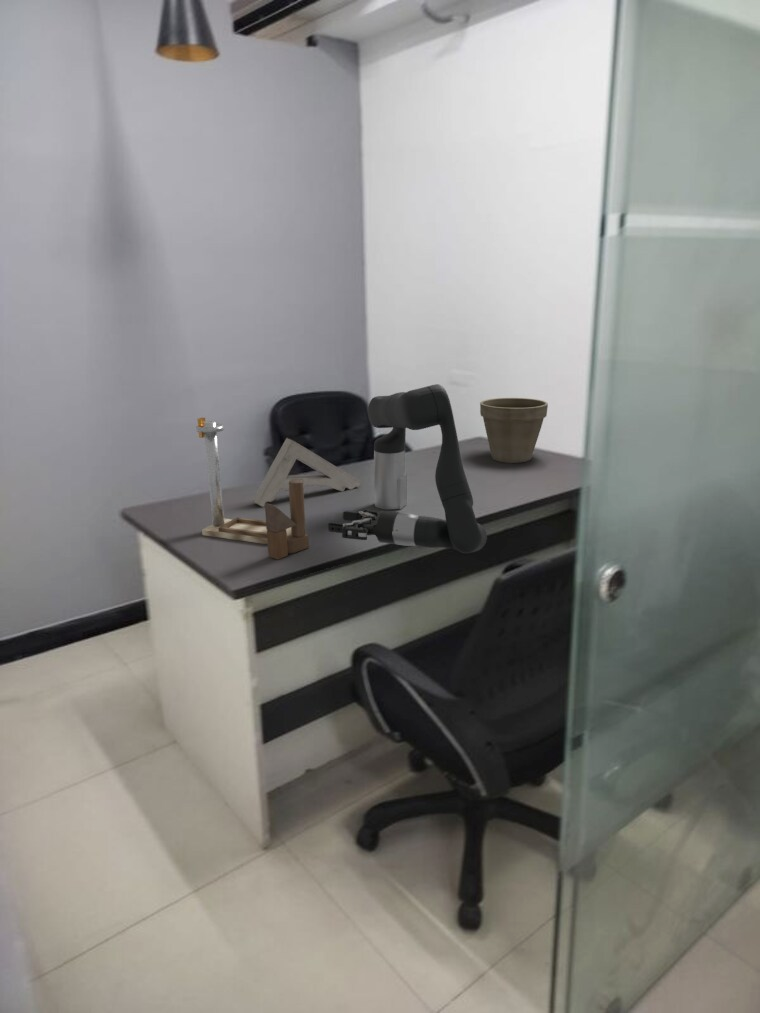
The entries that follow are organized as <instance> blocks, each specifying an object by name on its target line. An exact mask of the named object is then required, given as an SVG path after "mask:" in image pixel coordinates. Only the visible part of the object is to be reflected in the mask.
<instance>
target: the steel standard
mask: <svg viewBox="0 0 760 1013" xmlns="http://www.w3.org/2000/svg"><path fill="white" fill-rule="evenodd" d="M224 430H225V426H224V424H222V423H217V421H213V420H211V421H209V420H208V421H206V417H198V418H197V426H196V432H197V433H198V437H199V438H204V445H205V455H206V466H207V475H208V476H207V477H208V478H207V480H208V488H209V489H208V490H209V499H210V509H211V510H210V511H211V518H212V519H211V520H212V523H211V524H213V526H215V527H220V526H223V525H224V524H225V523H224V519H225V514H224V502H223V501H224V500H223V492H222V488H223V487H222V480H221V479H222V478H221V466H220V456H219V455H220V454H219V453H220V452H219V444H218V443H219V442H218V433H219V432H222V431H224Z"/></svg>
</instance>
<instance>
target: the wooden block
mask: <svg viewBox="0 0 760 1013" xmlns="http://www.w3.org/2000/svg"><path fill="white" fill-rule="evenodd" d="M304 492H305V490H304V487H303V481H302V480H299V479H295V480H290V481H289V490H288V493H289V494H288V496H289V514H290V515H289V516H290V517H288V515H286V514H285V513H284V512H283V511H282V510H280V509H279V508H278V507H277V506H276V505H274V504H271V503H269V502H266V503H265V506H264V510H265V511H264V512H265V514H264V515H265V521H266V529H267V541H268V544H267V554H268V557H269V558H272V559H275V560H277V561H278V560H281V559H282V558H286V557H288V555H289V554H295V553H298V552H300V551H303V550H307V549H308V548H310V544H309V542H310V538H309V534H307V532H306V518H305V517H306V515H305V514H306V513H305V493H304ZM290 527H291V534H292V535H289V536H287V532H286V529H288V528H290Z"/></svg>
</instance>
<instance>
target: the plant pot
mask: <svg viewBox="0 0 760 1013" xmlns="http://www.w3.org/2000/svg"><path fill="white" fill-rule="evenodd" d="M479 405H480V408H479V409H480V410H479V412H480V416H481V417H482V418H483V424H484V427H485V434H486V436H487V442H488V445H489V451H490V455H491V458H492V459H493V460H494V461H496V462H500V463H508V464H518V463H525V462H529V461H530V460H531V459H532V457H533V454H534V451H535V448H536V445H537V442H538V439H539V436H540V432H541V429H542V426H543V423H544V419H545V418H546V417H547V414H548V408H549V407H548V405H549V404H548V402H547V401H545V400H541V399H536V398H527V397H526V398H525V397H500V398H499V397H498V398H489V399H485V400H482V401H480V402H479Z"/></svg>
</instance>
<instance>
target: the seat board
mask: <svg viewBox="0 0 760 1013" xmlns="http://www.w3.org/2000/svg"><path fill="white" fill-rule="evenodd" d="M224 523H225V524H224V525H223V526H220V527H215V526H213V523H211V524H210V525H208V526H206V527H204V528H202V530H201V533H202V536H207V537H212V538H213V537H215V538H222V539H228V540H235V541H243V542H249V543H256V544H257V543H258V544H262V545H263V544H264V545H268V541H267V529H266V520H259V519H251V518H244V517H235V518H233V519H231V518H224ZM286 532H287V536H289V535H292V534H291V527H290V528H288V529H286Z"/></svg>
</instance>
